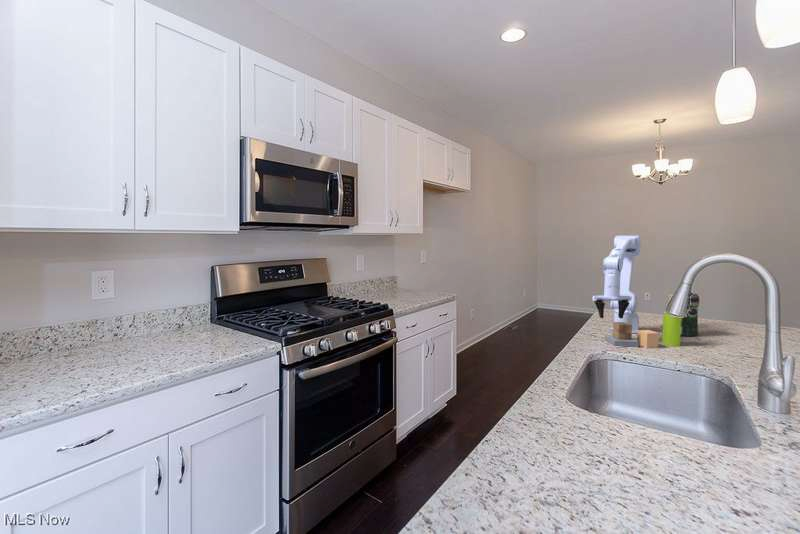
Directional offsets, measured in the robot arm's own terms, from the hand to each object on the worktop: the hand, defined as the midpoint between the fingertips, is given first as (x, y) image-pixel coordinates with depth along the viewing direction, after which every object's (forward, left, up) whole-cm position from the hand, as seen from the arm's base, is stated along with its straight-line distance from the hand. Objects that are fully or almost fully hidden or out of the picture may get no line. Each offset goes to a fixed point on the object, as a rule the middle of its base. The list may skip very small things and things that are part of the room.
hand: (610, 317), depth 160 cm
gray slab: (-2, +5, -10) cm, 12 cm away
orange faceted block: (-11, +7, -10) cm, 17 cm away
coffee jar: (-36, -13, -10) cm, 40 cm away
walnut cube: (-3, +4, -7) cm, 9 cm away
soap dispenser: (-22, +3, -10) cm, 25 cm away
